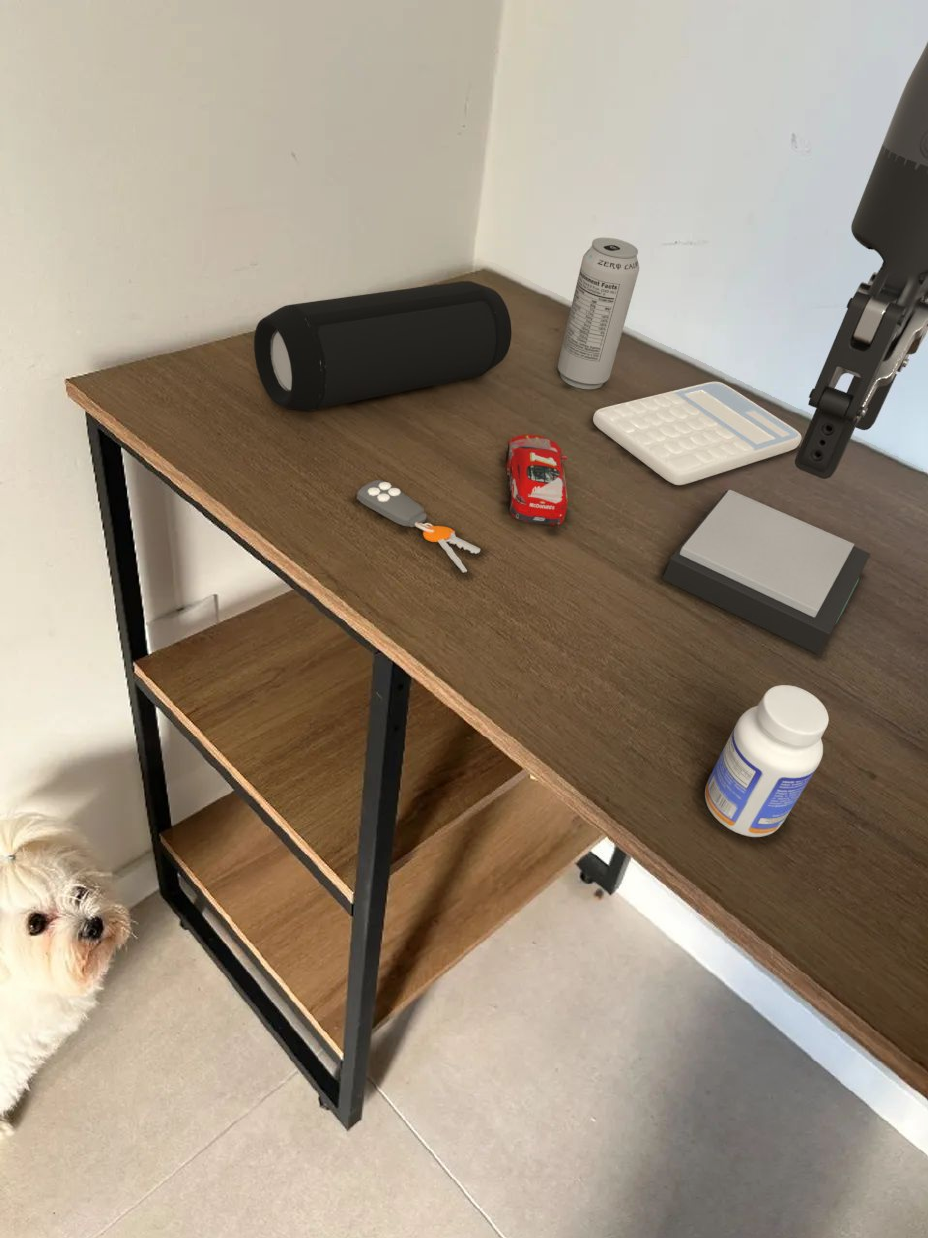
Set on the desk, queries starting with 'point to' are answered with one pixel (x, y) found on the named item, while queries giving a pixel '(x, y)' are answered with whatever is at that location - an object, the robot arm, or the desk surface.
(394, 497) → the key chain
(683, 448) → the calculator
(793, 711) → the pill bottle
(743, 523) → the scale
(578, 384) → the energy drink can
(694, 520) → the desk surface
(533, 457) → the race car
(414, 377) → the portable speaker
